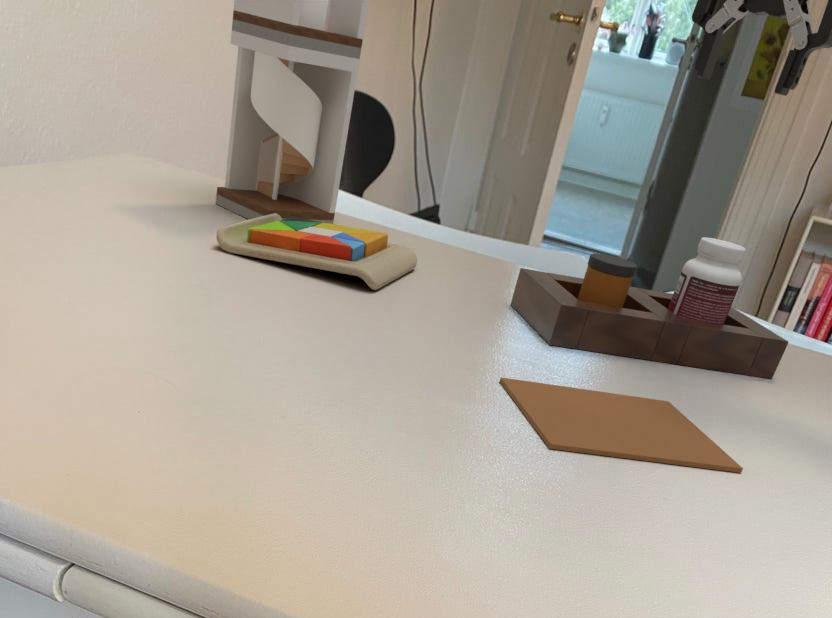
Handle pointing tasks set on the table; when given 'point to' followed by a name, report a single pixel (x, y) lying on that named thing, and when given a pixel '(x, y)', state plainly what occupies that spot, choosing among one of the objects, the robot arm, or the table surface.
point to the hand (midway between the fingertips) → (740, 86)
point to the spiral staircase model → (291, 105)
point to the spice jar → (607, 280)
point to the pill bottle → (708, 282)
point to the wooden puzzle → (319, 247)
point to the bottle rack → (644, 327)
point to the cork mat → (615, 426)
